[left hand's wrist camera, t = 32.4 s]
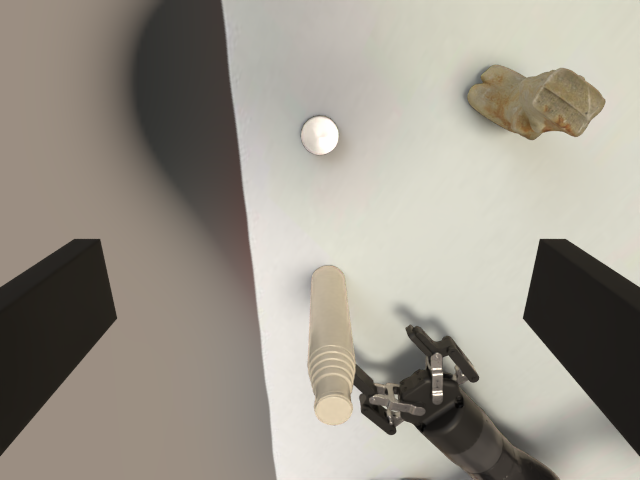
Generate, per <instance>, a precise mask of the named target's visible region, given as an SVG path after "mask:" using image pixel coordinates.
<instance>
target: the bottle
mask: <svg viewBox="0 0 640 480" xmlns="http://www.w3.org/2000/svg"><path fill="white" fill-rule="evenodd" d="M355 366H356V362H355V354H354V346H353V338H352V330H351V322H350V314H349V306H348V298H347V290H346V282H345V276H344V274H343V272H342V271H341V270H340V269H338V268H337V267H334V266H322V267H320V268H318V269H317V270H316V271H315V272H314V273H313V275H312V278H311V297H310V319H309V342H308V373H309V377H310V381H311V385H312V388H313V393H314V395H315V403H314V411H315V414H316V416H317V418H318V419H319V420H320V421H321V422H323V423H325V424H328V425H339V424H342V423H344V422H346V421H347V420H348V419H349V418H350V416H351V414H352V411H353V406H352V403H351V396H350V395H351V393H352V387H353V381H354V375H355Z"/></svg>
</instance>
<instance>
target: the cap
mask: <svg viewBox="0 0 640 480" xmlns="http://www.w3.org/2000/svg"><path fill="white" fill-rule="evenodd" d="M301 131H302V132H301V140H302V143H303V145H304V147H305V148H306V149H307V150H308V151H309V152H310V153H312V154H315V155H324V154H327V153H329V152H331V151H332V150H333V149H334V148H335V147H336V145H337V142H338V138H339V134H338V128H337V127H336V125H335V122H333V121H332V120H331V118H328V117H326V116H322V115H318V116H313V117H311V118H310V119H308V120H307V121H306V123H304V126H303V128H302V129H301Z"/></svg>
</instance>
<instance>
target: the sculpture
mask: <svg viewBox="0 0 640 480" xmlns="http://www.w3.org/2000/svg"><path fill="white" fill-rule="evenodd" d="M481 79H482V82H483V83H482V84H475V85H474V86H472V87H471V89H470V91H469V93H468V97H467V98H468V101H469V103H470V105H471V106H472V107H473V108H474V109H475V110H476V111H478V112H479V113H480V114H482V115H483V116H484V117H486V118H488V119H489V120H491V121H493V122H494V123H496V124H498V125H499V126H501V127H503V128H505V129H507V130H508V131H511V132H514V133H518V134H520V135H521V136H524V137H526V138H527V139H529V140H534V139H536V138H537V137H538V136H540V135H541V134H542V133H544V132H548V131H562V132H565V133H567V134H569V135H571V136H574V137H578V136H580V135H581V134H582V133H583V132H584V131H585V129H586V128H587V126H588V124H589V122H590V121H591V120H592V119H593V118H594V117H595V116H596V115H598V114H599V113H600V112H601V110H602V109H603V107H604V105H605V99H604V98H603V97H602V95H601V94H600V92H599V91H598V90H597V89H596V88H594V87H593V86H592V85H591V84H589V83H588V82H586V81H585V79H584V77H582V76H580V75H577V74H576V73H574V72H573V71H571V70H569V69H565V68H559V69H557V70H551V71H550V72H545V73H542V74H540V75H538V76H535V77H528V78H526V77H524V76H522V75H521V74H519V73H517V72H515V71H513V70H511V69H509V68H506V67H504V66H501V65H493V66H491V67H490V68H489V69H487V70H486V71H485V72H484V73H483V74H482V75H481Z"/></svg>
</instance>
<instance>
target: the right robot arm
mask: <svg viewBox="0 0 640 480" xmlns="http://www.w3.org/2000/svg"><path fill="white" fill-rule="evenodd" d="M406 331H407V334H408V336H409V338H410V339H411V340H412V341H413V342H414V343H415V344H416V345H417V346H418V347H419V348H420V350H421V351H422V352H423V353H424V354H425V355H426V365H425V369H424V370H420V369H419V370H417V371H416V372H414V373H413V375H412V376H411V377H408V378H406V379H404V380H402V381H401V382H400V384H394V383H386V385H383V384H377V383H374V382H373V380H372V379H371V378H370V377H369V376H368V375H367V374H366V373H365V372H364V371H363V370H362V369H361V368H360V367H359V366H358V365H357V364H356V366H355V375H354V381H353V385H355V386H356V387H357V388H358V389H359V390H360V391H361V392H362V394H361V395H360V396H359V399H360V404H361V413H362V414H363V415H365V416H366V417H367V418H369V419H370V420H371V421H372V422H374V423H375V424H376V425H377V426H379V427H380V428H381V429H382V430H384V431H385V432H386V433H387V434H389V435H394V434H395V433H396V426H398V425H399V424H400V423H402V422H403V421H406V422H410V423H412V424H414V425H415V427H416V428H417V429H418V430H419V431H420V432H421V433H422V434H423V435H424V436H425V437H426V438H427V439H428V440H429V441H431V442H432V443H433V444H434V445H435V446H436V447H437V448H438V449H439V450H440V451H441V452H442V453H443V454H444V455H445V456H447V457H448V458H449V459H450V460H451V461H452V462H453V463H455V464H456V465H458V466H459V467H461V468H462V469H463V470H464V471H465V472H466V473H467V474H468V475H470V476H471V477H472V478H473V479H474V480H560V479H559V478H558V476H557V475H556V474H555V473H554V472H553V471H552V470H551V469H549V468H548V467H547V466H545V465H544V464H542V463H541V462H539V461H538V460H536V459H535V458H533V457H532V456H530V455H529V454H527V453H525V452H524V451H522V450H520V449H518V448H516V447H515V446H513V445H512V444H511V443H510V442H509V441H508V440H507V438H506V437H505V436H504V435H503V434H502V433H501V432H500V431H499V430H498V429H497V428H496V427H495V425H494V424H493V422H492V421H491V420H490V418H489V417H488V416H487V415H486V414H485V412H484V411H483V410H482V409H481V408H480V407H478V406H477V405H476V404H475V403H474V402H473V401H472V400H471V399H470V397H469V396H468V395H467V394H466V393H465V392H464V391H463V390H462V389H461V388H460V387H459V385H460V384H462V383H464V382H465V381H467V380H469V381H470V382H473V383H474V382H477V381H478V380H479V376H478V374H477V372H476V370H475V369H474V367H473V365H472V363H471V362H470V361H469V359H468V358H467V357H466V356H465V354H464V353H463V352H462V351H461V349H460V348H459V347H458V346H457V344H456V343H455V342H454V341H453V339H452V338H451V337H450V336H445V337H444V338H443V339H442V341H438V342H435V341H433V340H432V339H431V338H430V337H429V336H428V335H427V334H426V333H425V332H424V331H423V330H422V329H421V328H420V327H418V326H416V327H413V326H412V325H409V326H408V327H406ZM448 355H449V356H450V358H451V359H452V360H453V361H454V362H455V364H456V365H455V371H456V372H455V374H454V375H452V374H450V373H445V372H443V371H442V357H445V356H448ZM378 394H382V395H378ZM394 394H398V400H397V399H396V398H395V396H394ZM381 405H382V406H386V407H387V409H385V408H384V407H382V406H381ZM391 410H395V411H398V412H393V411H391Z"/></svg>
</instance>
